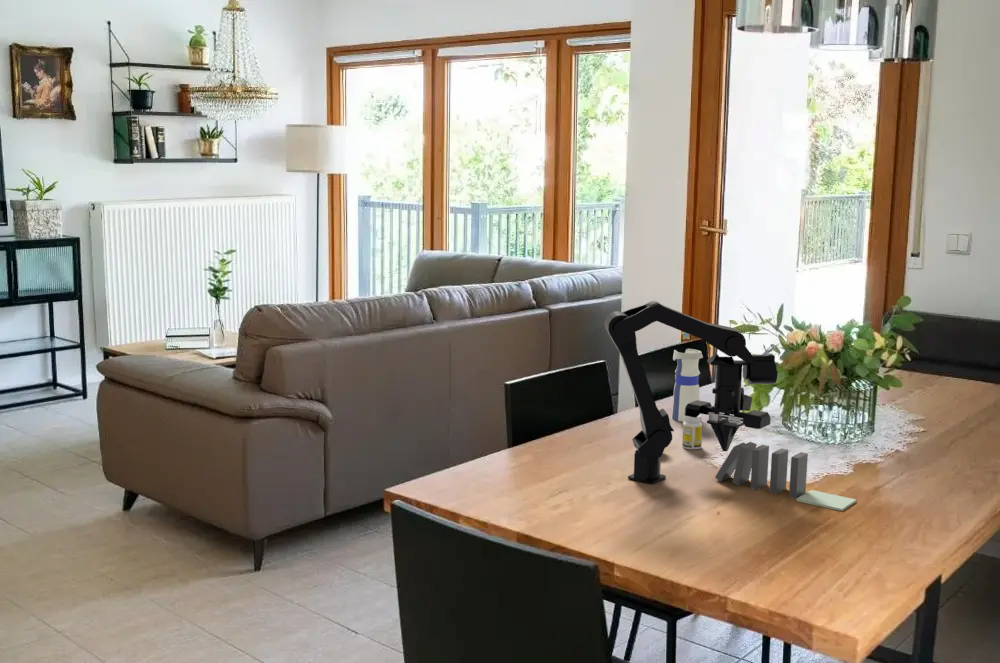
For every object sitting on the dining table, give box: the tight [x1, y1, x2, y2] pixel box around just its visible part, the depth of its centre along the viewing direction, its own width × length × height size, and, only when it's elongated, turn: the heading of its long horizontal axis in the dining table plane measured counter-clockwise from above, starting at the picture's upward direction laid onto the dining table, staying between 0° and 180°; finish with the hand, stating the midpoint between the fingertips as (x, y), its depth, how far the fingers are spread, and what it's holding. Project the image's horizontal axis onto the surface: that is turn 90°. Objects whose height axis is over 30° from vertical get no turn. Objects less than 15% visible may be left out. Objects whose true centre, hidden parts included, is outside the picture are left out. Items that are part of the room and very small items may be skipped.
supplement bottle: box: [682, 414, 703, 451], centre depth 262 cm, size 5×5×8 cm
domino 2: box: [731, 441, 758, 487], centre depth 234 cm, size 2×5×9 cm, turn 141°
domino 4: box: [769, 447, 789, 495], centre depth 229 cm, size 2×5×9 cm, turn 141°
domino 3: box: [750, 444, 770, 491], centre depth 231 cm, size 2×5×9 cm, turn 141°
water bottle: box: [671, 331, 704, 423], centre depth 290 cm, size 8×8×25 cm
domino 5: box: [788, 451, 809, 500], centre depth 226 cm, size 2×5×9 cm, turn 141°
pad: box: [795, 489, 857, 512], centre depth 223 cm, size 8×10×1 cm
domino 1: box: [714, 442, 746, 483], centre depth 236 cm, size 2×5×9 cm, turn 141°
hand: (725, 451), depth 236 cm, fingers closed
